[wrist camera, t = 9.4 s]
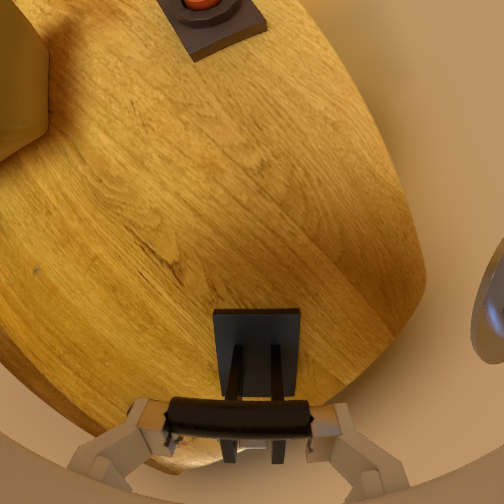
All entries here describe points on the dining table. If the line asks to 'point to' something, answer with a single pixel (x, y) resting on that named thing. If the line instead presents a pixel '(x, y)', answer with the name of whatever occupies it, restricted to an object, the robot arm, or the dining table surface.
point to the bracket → (256, 361)
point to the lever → (239, 420)
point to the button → (201, 4)
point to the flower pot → (21, 81)
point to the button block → (213, 24)
